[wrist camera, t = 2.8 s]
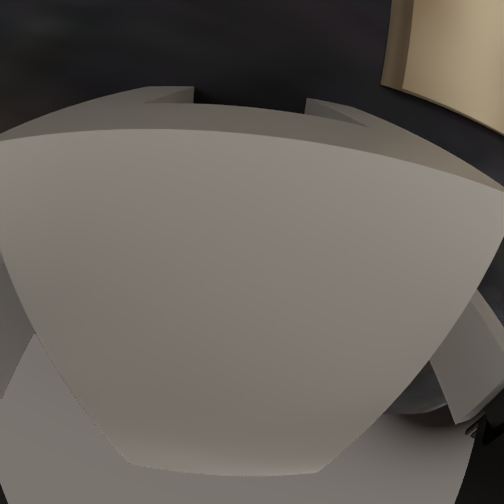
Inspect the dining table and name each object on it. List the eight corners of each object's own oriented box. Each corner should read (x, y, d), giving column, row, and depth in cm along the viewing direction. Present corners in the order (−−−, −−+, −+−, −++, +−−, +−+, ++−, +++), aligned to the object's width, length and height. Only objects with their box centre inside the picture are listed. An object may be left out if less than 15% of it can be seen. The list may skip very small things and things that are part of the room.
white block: (159, 320, 13) (129, 463, 8) (147, 86, 8) (-25, 146, 2) (295, 329, 14) (317, 472, 8) (351, 106, 8) (519, 198, 3)
